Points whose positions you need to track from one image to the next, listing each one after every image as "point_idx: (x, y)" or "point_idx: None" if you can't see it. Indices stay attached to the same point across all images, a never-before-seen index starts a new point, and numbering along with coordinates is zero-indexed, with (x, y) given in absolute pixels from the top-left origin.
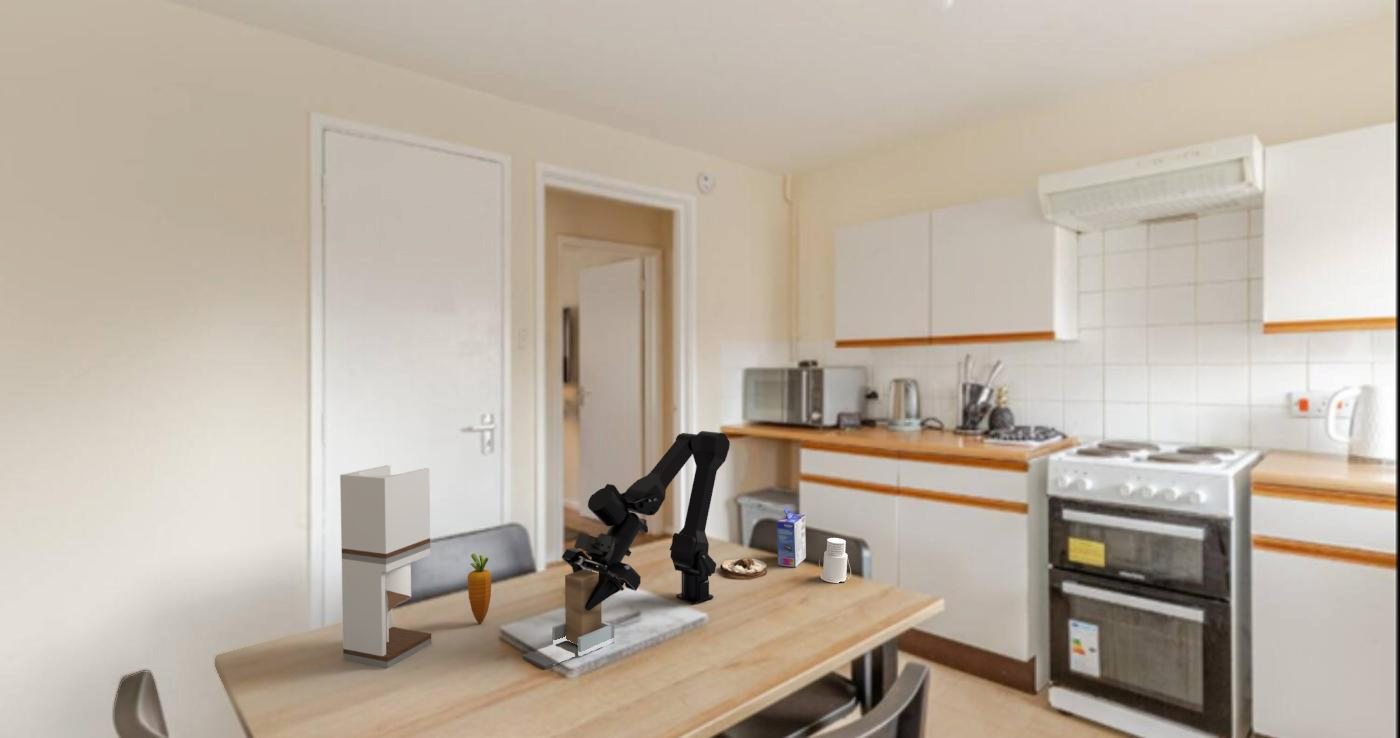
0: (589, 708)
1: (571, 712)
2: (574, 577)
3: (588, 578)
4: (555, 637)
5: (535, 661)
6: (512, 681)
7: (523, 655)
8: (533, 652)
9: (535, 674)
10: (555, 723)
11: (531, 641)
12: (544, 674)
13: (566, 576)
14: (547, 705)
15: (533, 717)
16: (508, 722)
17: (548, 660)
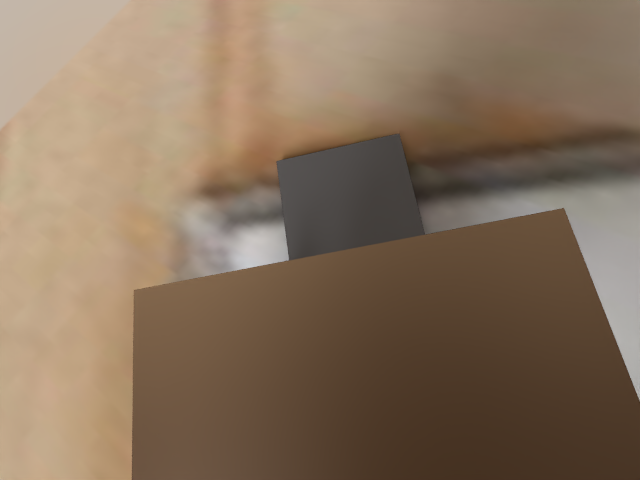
0: (36, 170)
1: (55, 132)
2: (342, 283)
3: (133, 451)
4: None
5: (329, 149)
6: (278, 73)
7: (396, 134)
8: (398, 168)
9: (273, 133)
10: (50, 90)
11: (528, 214)
12: (255, 153)
13: (511, 219)
14: (117, 102)
15: (101, 64)
16: (124, 21)
17: (307, 184)
